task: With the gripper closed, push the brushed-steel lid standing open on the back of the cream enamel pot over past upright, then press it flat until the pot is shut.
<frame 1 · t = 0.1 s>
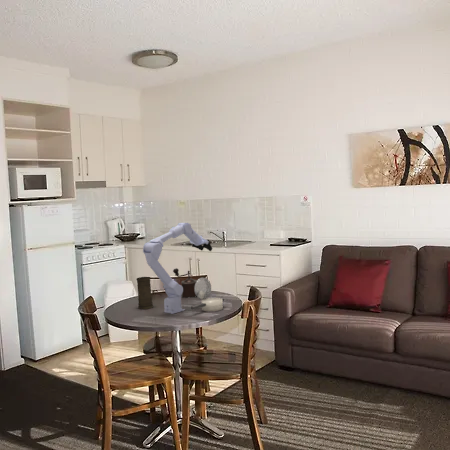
hand: (207, 249, 298), 32 cm above the table, tool tilted 50°, fingers open, 7 cm apart
lid: (202, 288, 285), point 11 cm above the table, hinge at 95.0°
pot: (212, 308, 281), on the table
manual coffee grinder: (186, 296, 320), on the table
container: (145, 307, 294), on the table
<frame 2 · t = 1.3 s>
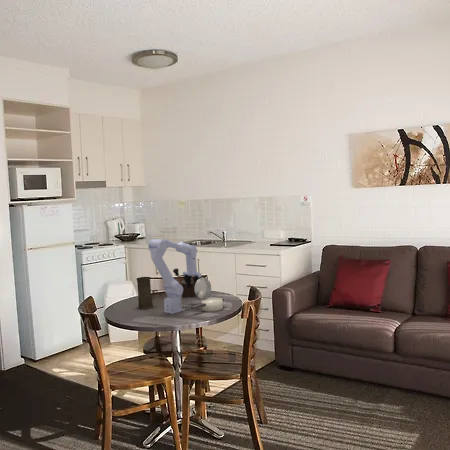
hand: (192, 288, 292), 10 cm above the table, tool pointing down, fingers open, 6 cm apart
nothing on the table moved.
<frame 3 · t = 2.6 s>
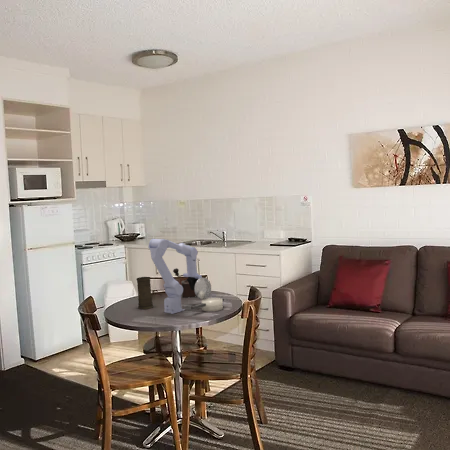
hand: (193, 289, 291), 9 cm above the table, tool pointing down, fingers closed
nothing on the table moved.
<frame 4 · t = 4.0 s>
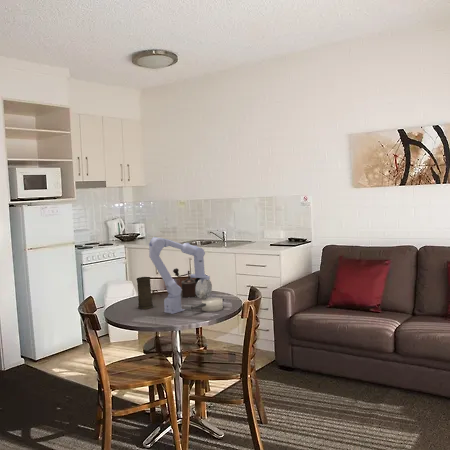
hand: (200, 290, 287), 9 cm above the table, tool pointing down, fingers closed
lid: (203, 288, 285), point 11 cm above the table, hinge at 89.1°, touching gripper
everything else where it was.
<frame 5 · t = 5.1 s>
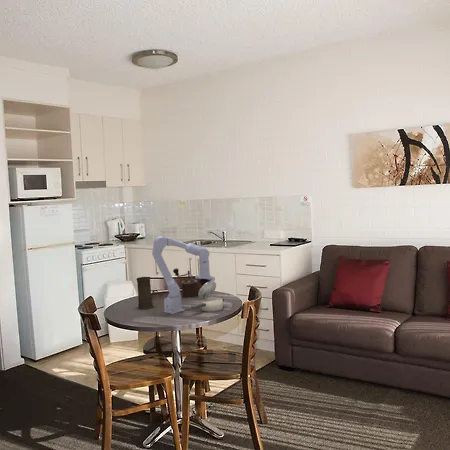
hand: (205, 292, 284), 9 cm above the table, tool pointing down, fingers closed, pressing on lid
lid: (206, 289, 283), point 11 cm above the table, hinge at 60.1°, touching gripper
everything else where it was.
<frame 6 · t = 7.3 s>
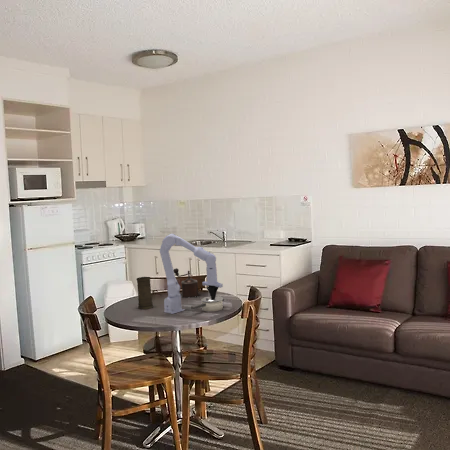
hand: (213, 298, 280), 6 cm above the table, tool pointing down, fingers closed, pressing on lid
lid: (212, 298, 280), point 6 cm above the table, hinge at 1.2°, touching gripper
everything else where it was.
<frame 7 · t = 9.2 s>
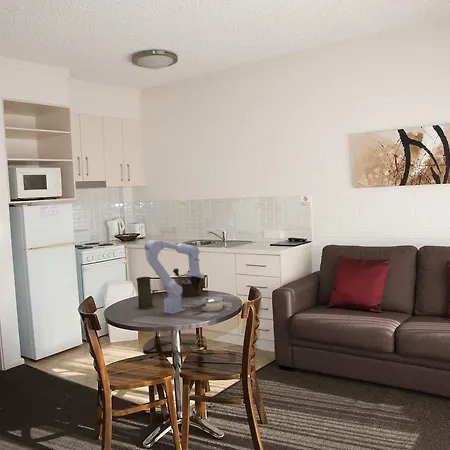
hand: (196, 289, 288), 10 cm above the table, tool pointing down, fingers closed
lid: (212, 298, 280), point 6 cm above the table, hinge at 0.9°
everything else where it was.
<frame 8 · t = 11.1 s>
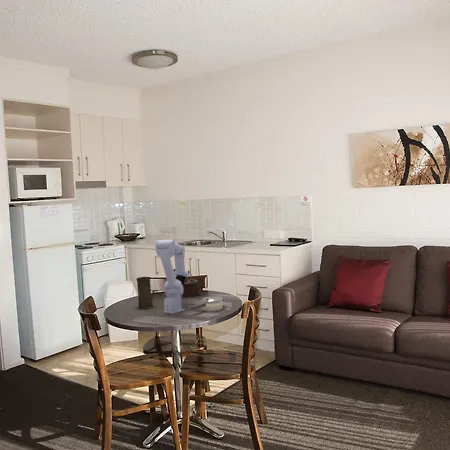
hand: (181, 287, 295), 10 cm above the table, tool pointing down, fingers closed
nothing on the table moved.
at the end: lid at +1° (first picture: +95°) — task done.
